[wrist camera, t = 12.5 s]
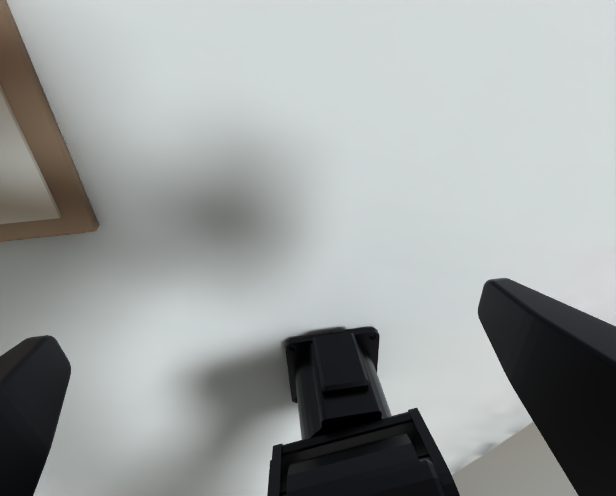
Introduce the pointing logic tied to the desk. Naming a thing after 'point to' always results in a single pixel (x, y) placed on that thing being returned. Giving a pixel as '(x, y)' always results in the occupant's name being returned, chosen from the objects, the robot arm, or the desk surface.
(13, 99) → the clipboard
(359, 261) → the desk surface
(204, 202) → the desk surface
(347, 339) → the robot arm
